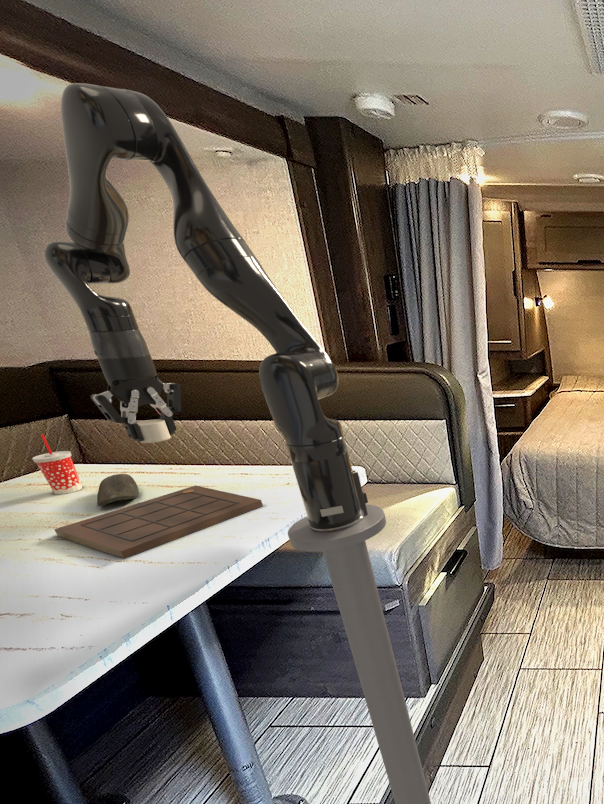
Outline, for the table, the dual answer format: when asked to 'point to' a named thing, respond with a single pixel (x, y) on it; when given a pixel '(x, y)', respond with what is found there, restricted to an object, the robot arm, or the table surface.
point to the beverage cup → (58, 470)
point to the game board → (157, 520)
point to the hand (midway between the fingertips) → (155, 436)
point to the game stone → (154, 430)
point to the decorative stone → (117, 489)
